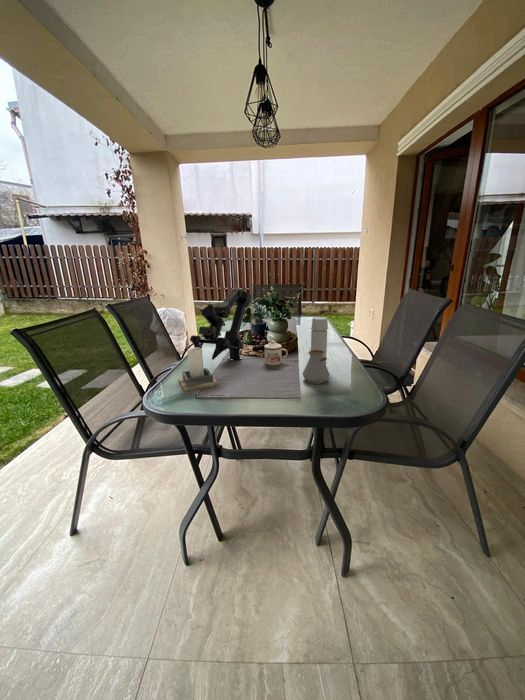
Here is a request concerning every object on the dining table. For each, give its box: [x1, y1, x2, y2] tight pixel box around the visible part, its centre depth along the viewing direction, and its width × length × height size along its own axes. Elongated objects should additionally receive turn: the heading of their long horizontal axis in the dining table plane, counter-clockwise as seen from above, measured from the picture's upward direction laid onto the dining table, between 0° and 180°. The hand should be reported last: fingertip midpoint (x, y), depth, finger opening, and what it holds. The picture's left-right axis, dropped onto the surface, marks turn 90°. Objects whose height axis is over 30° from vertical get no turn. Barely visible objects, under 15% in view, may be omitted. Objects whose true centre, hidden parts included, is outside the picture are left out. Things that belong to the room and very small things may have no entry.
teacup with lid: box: [263, 340, 289, 366], centre depth 147 cm, size 12×9×12 cm
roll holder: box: [178, 367, 219, 392], centre depth 125 cm, size 14×14×4 cm
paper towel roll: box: [187, 347, 204, 379], centre depth 123 cm, size 6×6×14 cm
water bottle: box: [310, 316, 329, 365], centre depth 133 cm, size 9×8×25 cm
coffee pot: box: [302, 349, 330, 385], centre depth 118 cm, size 21×12×15 cm, turn 3°
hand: (203, 358), depth 128 cm, fingers open, 9 cm apart
